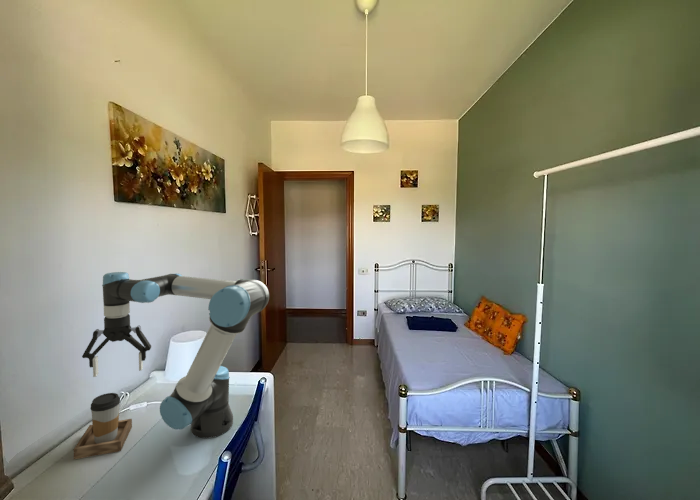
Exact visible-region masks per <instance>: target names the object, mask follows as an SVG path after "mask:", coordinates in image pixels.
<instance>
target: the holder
mask: <svg viewBox="0 0 700 500" xmlns="http://www.w3.org/2000/svg"><path fill="white" fill-rule="evenodd" d="M132 428H133V418H128V419H127V418H126V419H121V420H120V419H119V421H118V431H117V436H116V438H115V439H114V440H113V441H110V442H104V443H98V444H96V442H95V440H94V434H93V425H92V424H89V425H88V427H87V429H86V430H85V431H84V432H83V435H82V436H81V438H80V439H79V441H77V444H76V445H75V447H74V448H73V450H72V451H73V460H78V459H83V458H89V457H95V456H100V455H106V454H111V453H116V452H121V451H122V450H123V448H124V445H125V443H126V441H127V439H128V437H129V435H130V433H131V430H132Z"/></svg>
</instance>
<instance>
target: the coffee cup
mask: <svg viewBox="0 0 700 500" xmlns="http://www.w3.org/2000/svg"><path fill="white" fill-rule="evenodd" d="M120 398H121V397H120V396H119V394H118V393H115V392H108V393H103V394H99V395H98V396H95V398H93V400H92V401H91V404H90V411H91V423H92V424H91V425H93V434H94V440H95V442H96V444H98V443H104V442H110V441H113V440H114V439H115V438H116V436H117V431H118V421H120V419H119V418H120V417H119V416H120V403H121V399H120Z"/></svg>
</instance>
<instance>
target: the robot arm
mask: <svg viewBox="0 0 700 500" xmlns="http://www.w3.org/2000/svg"><path fill="white" fill-rule="evenodd" d="M102 276H103V277H102V285H101V286H102V299H103V300H102V302H103V316H104V317H103V325H104V327H103V329H99V328H97V329H95V330H94V331H93V332H92V338H91V340H90V341H89V344H88V345H87V346H86V348H85V350H84V352H83V353H82V355H81V357H82V358H83V359H88V360H89V363H88V364H89V366H88V367H89V368H92V375H93V376H92V377H93V378H96V377H97V376H99V360H98V359H99V356H98V355H97V354H99V352H100V351H101V350H102V349H103V348H104V346H106V345H107V343H109V342H112V343H115V342H122V341H125V342H128V343H130V345H132V346H133V347H134V348H135V349H137V350H138V351H139V352H138V371H139V372H141V371H142V370H143V368H144V364H143V363H144V361H146V359H147V352H149V351H150V350H151V349H152V345H151V343H150V342H149V340H148V339H147V337H146V336H145V335H144V333H143V332H142V327H141V325H137V326H135V327H132V326H131V315H130V313H131V308H130V302H134V303H135V302H136V303H141V304H146V303H147V304H149V303H153V302H154V301H156V300H157V299H158V298H160V297H163V296H168V295H169V296H180V297H187V298H188V297H189V298H195V299H196V298H197V299H203V300H204V299H205V300H210V301H209V303H208V311H209V313H208V315H209V317H208V319H209V323H210V326H209V328H208V330H207V332H206V335H205V336H204V339H203V340H202V342H201V345H200V347H199V348H198V351H197V353H196V355H195V357H194V358H193V361H192V363H191V365H190V367H189V369H188V372H187V373H186V375H185V376H183V377H181V378H180V379H179V380H178V382H177V383H176V385H175V387H174V389H173V391H172V393H171V394H170V395H169V396H166V397H165V398H164V399H163V400H162V401H161V402H160V404H159V414H160V416H161V419H162V421H163V422H164V423H165V424H166V426H168V427H169V428H172V430H184V429H185V428H187V427H189V426H190V432H191V434H192V435H193V436H195V438H198V439H199V438H200V439H211V438H215V436H216V437H218V435H219V436H221V435H223V434H225V433H227V432H228V431H229V430H230V429H231V428H232V426H233V424H234V415H233V411H232V409H231V407H230V404H229V402H230V401H229V400H230V399H229V398H230V372H229V371H230V370H229V368H227V367H226V366H223V365H222V364H223V362H224V359H225V357H226V356H227V353H228V352H229V350H230V348H231V346H232V344H233V342H234V340H235V338H236V336H237V335H238V334H241V333H243V332H244V330H245V329H246V327H247V325H248V323H249V321H250V319H252V317H253V316H254V315H256V314H259V313H260V312H262V311H263V310H264V309H265V308H266V306H267V305H268V303H269V300H270V292H269V289H268V287H267V285H266V284H264V282H262V281H260V280H257V279H244V278H238V279H236V281H235V280H226V279H215V278H206V277H195V276H193V277H192V276H185V275H184V276H183V275H182V274H180V273H169V274H165V275H158V276H155V277H149V278H143V279H130V276H129V273H128V272H125V271H115V272H107V273H105V274H104V275H102ZM131 332H133V333H134V334H136V337H138V339H139V341H140V342H139V341H138V340H137V339H136V338H135V337H133V335H131ZM102 335H103V336H105V339H104V340H103V341H102V342H101V343H100V344H99V345H98V347H97V346H96V348H95V349H94V350H93V351H92V349H93V347H94V345H95V343H97V340H98V339H99V337H101V336H102ZM230 427H231V428H230ZM224 432H225V433H224ZM222 433H223V434H222ZM220 434H221V435H220Z"/></svg>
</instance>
